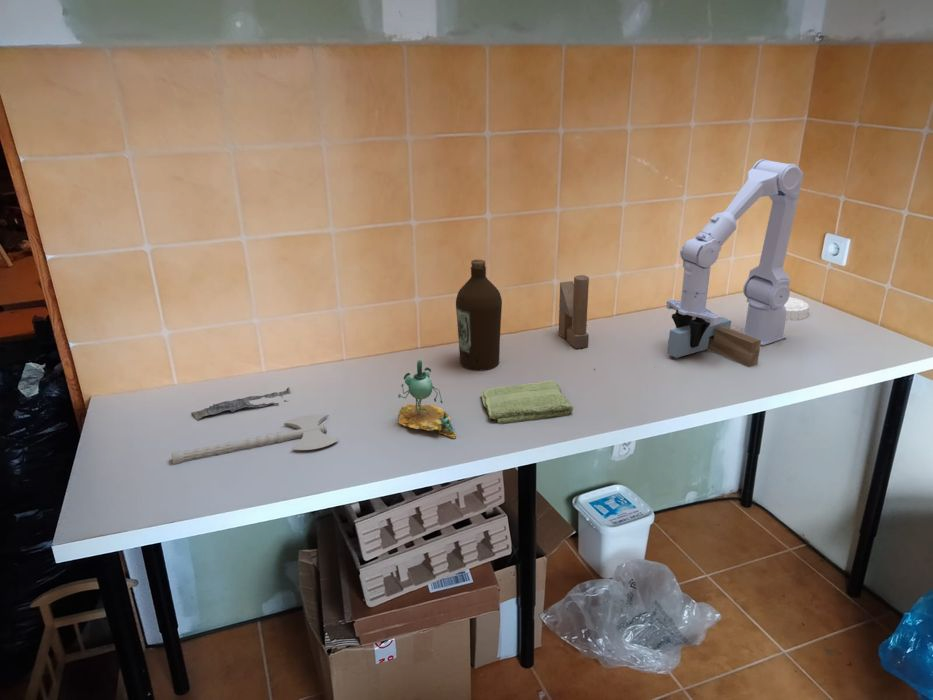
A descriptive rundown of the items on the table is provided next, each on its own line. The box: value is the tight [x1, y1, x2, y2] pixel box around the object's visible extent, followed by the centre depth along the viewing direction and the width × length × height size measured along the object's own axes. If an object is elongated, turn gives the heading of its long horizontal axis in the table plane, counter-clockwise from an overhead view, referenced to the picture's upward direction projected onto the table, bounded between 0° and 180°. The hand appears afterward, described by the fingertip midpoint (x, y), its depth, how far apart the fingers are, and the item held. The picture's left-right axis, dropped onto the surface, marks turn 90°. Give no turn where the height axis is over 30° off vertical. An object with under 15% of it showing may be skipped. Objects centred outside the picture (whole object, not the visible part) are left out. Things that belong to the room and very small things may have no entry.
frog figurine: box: [397, 359, 457, 439], centre depth 140 cm, size 10×18×15 cm, turn 29°
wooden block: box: [558, 274, 590, 350], centre depth 176 cm, size 4×11×18 cm, turn 17°
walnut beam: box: [692, 317, 761, 368], centre depth 171 cm, size 3×20×6 cm, turn 32°
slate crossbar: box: [666, 316, 732, 358], centre depth 171 cm, size 18×3×6 cm, turn 122°
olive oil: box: [455, 259, 503, 371], centre depth 163 cm, size 11×11×25 cm
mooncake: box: [784, 296, 810, 321], centre depth 195 cm, size 12×12×4 cm
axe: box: [171, 413, 340, 465], centre depth 135 cm, size 30×14×2 cm, turn 111°
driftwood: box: [191, 387, 291, 421], centre depth 150 cm, size 21×7×2 cm, turn 111°
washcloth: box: [480, 379, 574, 425], centre depth 147 cm, size 13×18×3 cm
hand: (688, 344), depth 170 cm, fingers closed on slate crossbar, 3 cm apart
